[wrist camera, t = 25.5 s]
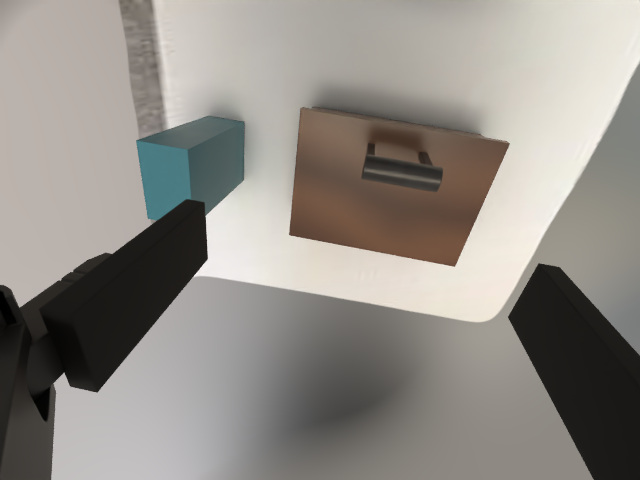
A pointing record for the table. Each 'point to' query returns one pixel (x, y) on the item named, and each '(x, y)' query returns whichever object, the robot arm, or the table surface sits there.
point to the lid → (390, 185)
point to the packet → (191, 164)
